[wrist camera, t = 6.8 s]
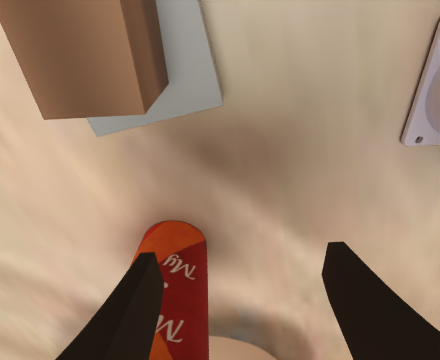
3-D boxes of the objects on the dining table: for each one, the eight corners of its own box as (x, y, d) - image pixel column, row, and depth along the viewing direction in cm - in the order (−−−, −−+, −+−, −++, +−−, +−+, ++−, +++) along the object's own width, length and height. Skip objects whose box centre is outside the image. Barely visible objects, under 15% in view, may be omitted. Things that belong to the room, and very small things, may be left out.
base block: (185, -66, 13) (176, -85, 10) (222, 91, 17) (223, 105, 15) (46, -17, 14) (8, -23, 12) (113, 120, 18) (96, 137, 16)
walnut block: (154, -7, 12) (116, -17, 8) (168, 83, 14) (145, 114, 10) (70, -1, 12) (-13, -7, 8) (97, 87, 14) (43, 119, 10)
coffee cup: (188, 196, 21) (141, 459, 9) (233, 255, 25) (246, 496, 13) (111, 231, 24) (-16, 482, 11) (163, 281, 27) (115, 508, 15)
